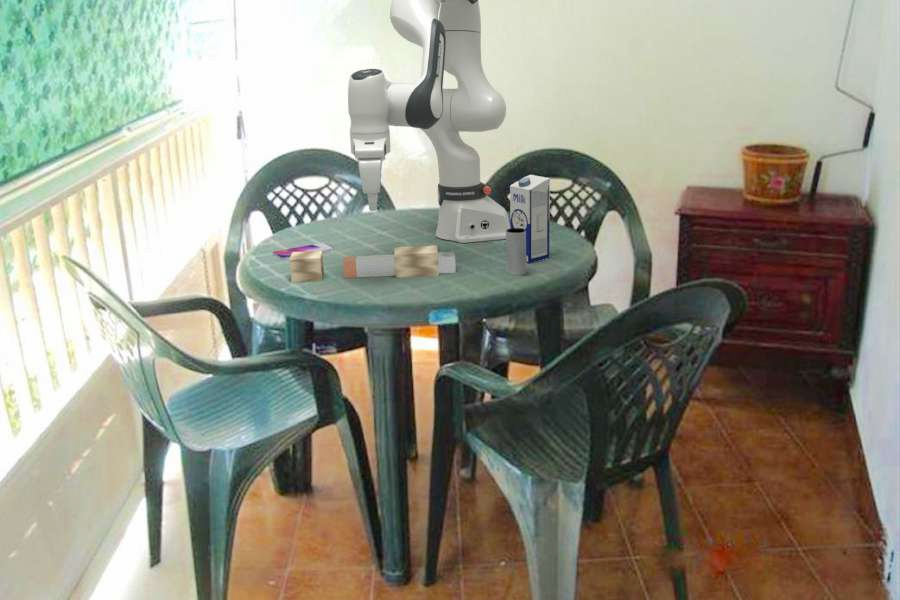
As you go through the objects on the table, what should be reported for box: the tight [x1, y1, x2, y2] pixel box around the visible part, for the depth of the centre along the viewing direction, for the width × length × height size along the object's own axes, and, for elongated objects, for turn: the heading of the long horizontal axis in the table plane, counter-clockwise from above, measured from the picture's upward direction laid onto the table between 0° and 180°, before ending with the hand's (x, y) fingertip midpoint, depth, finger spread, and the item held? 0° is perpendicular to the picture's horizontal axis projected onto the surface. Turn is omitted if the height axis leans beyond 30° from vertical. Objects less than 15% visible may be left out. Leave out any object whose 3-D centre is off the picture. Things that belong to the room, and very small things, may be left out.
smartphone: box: [272, 242, 336, 260], centre depth 219 cm, size 7×1×15 cm
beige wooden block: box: [288, 251, 325, 283], centre depth 196 cm, size 7×6×6 cm
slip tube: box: [342, 251, 457, 279], centre depth 197 cm, size 26×4×4 cm, turn 94°
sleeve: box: [393, 245, 440, 278], centre depth 197 cm, size 10×6×6 cm, turn 94°
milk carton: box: [509, 174, 551, 264], centre depth 204 cm, size 7×7×20 cm
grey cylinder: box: [505, 228, 527, 276], centre depth 194 cm, size 4×4×10 cm
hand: (373, 205), depth 192 cm, fingers open, 8 cm apart
